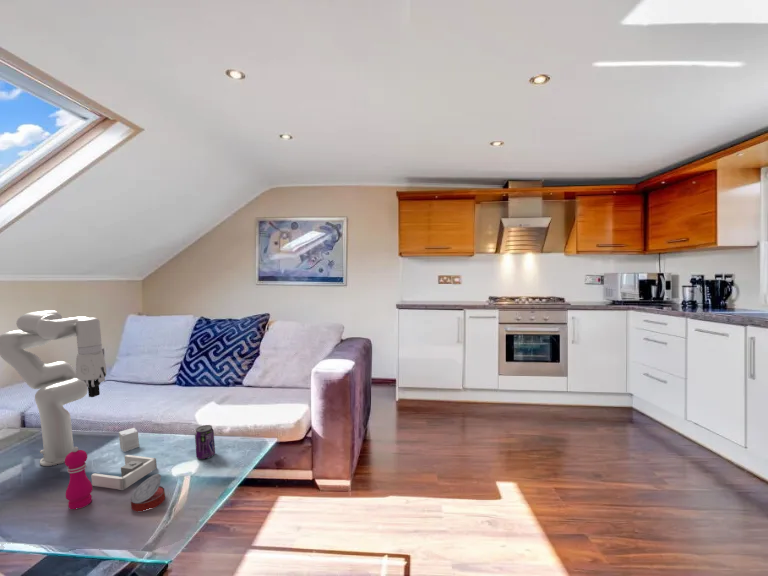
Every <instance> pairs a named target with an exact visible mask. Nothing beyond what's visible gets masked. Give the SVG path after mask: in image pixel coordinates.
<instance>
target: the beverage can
mask: <svg viewBox="0 0 768 576" xmlns="http://www.w3.org/2000/svg"><path fill="white" fill-rule="evenodd" d="M214 432H215V431H214V429H213V426H212V425H211V424H205V425H201V426H198V427H196V428H195V433H194V439H195V440H194V441H195V442H194V443H195V457H196V458H197V459H200V460H206V459H205V458H207V459H209V458H208V457H210V458H211V457H213V456H214V455H215V454H216V444H215V433H214ZM212 455H213V456H212Z"/></svg>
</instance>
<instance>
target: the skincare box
mask: <svg viewBox="0 0 768 576" xmlns="http://www.w3.org/2000/svg"><path fill="white" fill-rule="evenodd" d="M118 439H119V448H120V449H121V451H122V452H123V451H124V452H123V453H125V452H128V451H131V450H135V449H137V448H139V447H140V440H139V439H140V438H139V432H138V430H137V428H135V427H132V428H128V429H124V430H121V431H118Z"/></svg>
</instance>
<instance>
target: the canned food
mask: <svg viewBox="0 0 768 576" xmlns="http://www.w3.org/2000/svg"><path fill="white" fill-rule="evenodd" d="M161 480H162V475H161V474H159V473H156V474H152V475H150V477H147V478H146V479H145V480H143V481H142V482H141V483H140V484H139V485H138V486H137V487H136V488H135V489H134V491H133V492H132V494H131V497H130V504H131V506H130V507H131V510H132V511H134V512H137V513H138V511H142V512H144V511H143V510H146V509H149V508H153V509H155V508H156V507H159V506H160V505H162V504H163V503H164V502H165V499H166V493H165V488H164V487H163V486H161V485H160V484H161Z"/></svg>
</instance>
